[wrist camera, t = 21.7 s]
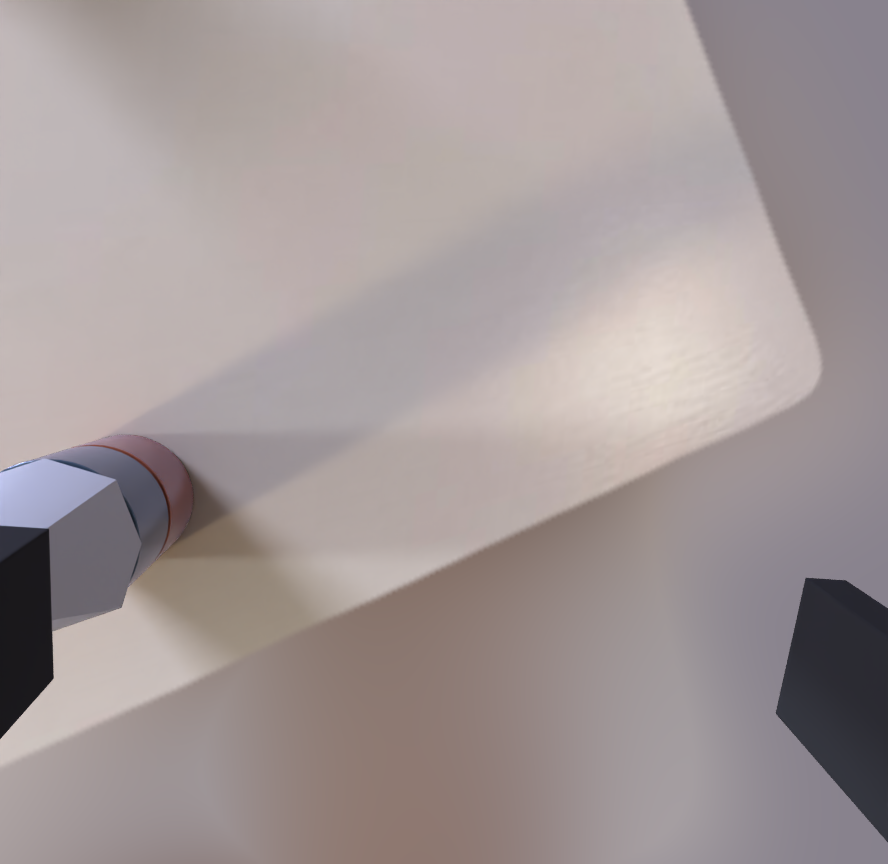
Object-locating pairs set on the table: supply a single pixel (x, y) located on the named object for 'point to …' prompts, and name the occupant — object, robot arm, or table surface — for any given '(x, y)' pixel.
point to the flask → (75, 534)
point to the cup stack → (139, 487)
